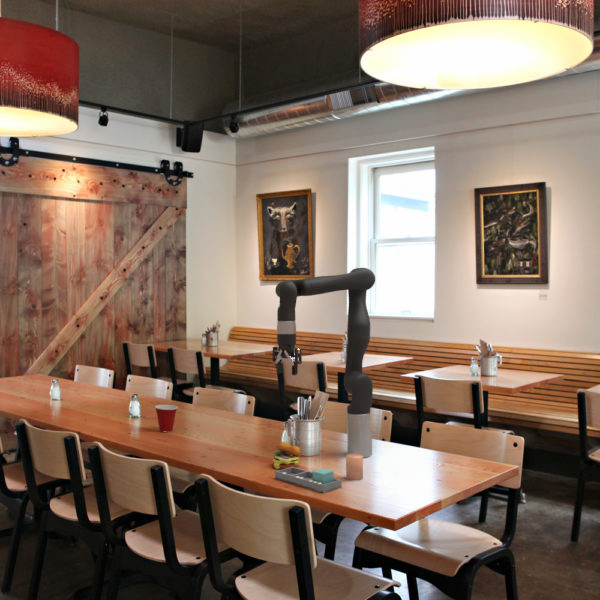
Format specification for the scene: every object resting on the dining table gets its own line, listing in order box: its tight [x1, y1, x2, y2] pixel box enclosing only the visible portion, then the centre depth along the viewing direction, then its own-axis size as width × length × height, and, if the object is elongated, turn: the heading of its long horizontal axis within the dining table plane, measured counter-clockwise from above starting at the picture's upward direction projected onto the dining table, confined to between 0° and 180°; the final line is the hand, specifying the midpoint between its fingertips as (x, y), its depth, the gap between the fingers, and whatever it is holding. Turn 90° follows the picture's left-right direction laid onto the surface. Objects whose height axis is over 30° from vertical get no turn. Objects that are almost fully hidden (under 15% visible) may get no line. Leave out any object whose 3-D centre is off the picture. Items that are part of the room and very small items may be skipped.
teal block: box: [312, 468, 335, 484], centre depth 234 cm, size 5×5×5 cm
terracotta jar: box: [345, 454, 364, 481], centre depth 245 cm, size 6×6×8 cm
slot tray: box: [274, 467, 343, 494], centre depth 239 cm, size 9×24×3 cm, turn 44°
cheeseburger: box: [272, 442, 302, 470], centre depth 262 cm, size 10×11×10 cm
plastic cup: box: [154, 404, 179, 432], centre depth 325 cm, size 11×11×12 cm
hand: (286, 374), depth 268 cm, fingers open, 8 cm apart
